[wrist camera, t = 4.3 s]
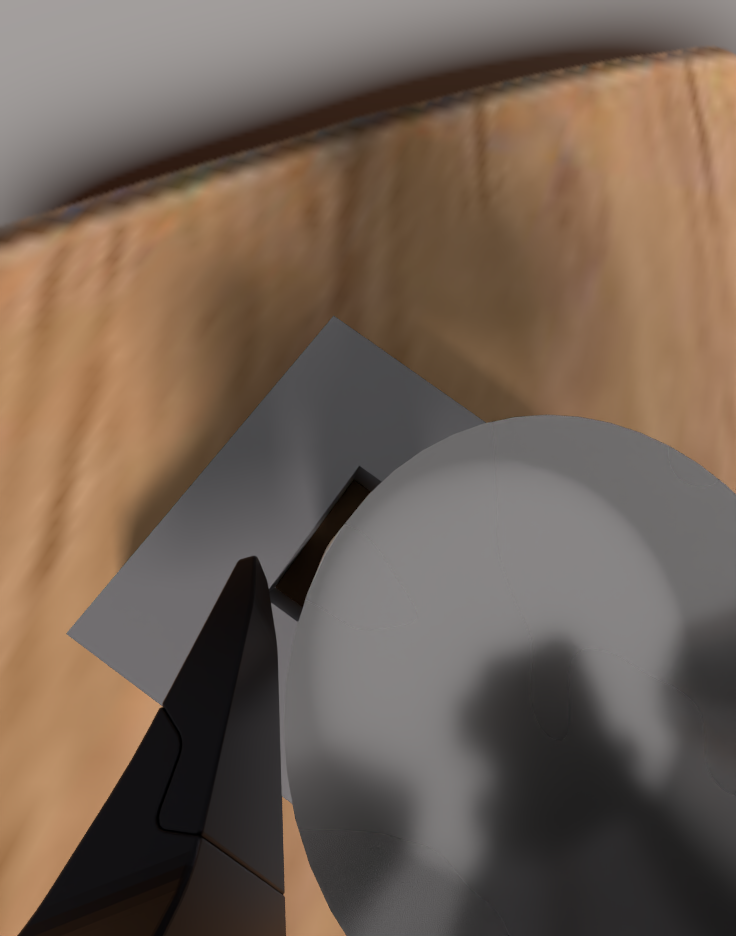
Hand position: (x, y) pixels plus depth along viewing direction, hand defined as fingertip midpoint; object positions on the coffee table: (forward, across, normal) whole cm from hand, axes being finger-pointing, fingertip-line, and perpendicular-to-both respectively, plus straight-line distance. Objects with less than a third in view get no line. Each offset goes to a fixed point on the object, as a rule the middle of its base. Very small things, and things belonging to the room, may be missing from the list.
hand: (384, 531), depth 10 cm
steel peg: (+4, 0, +6) cm, 7 cm away
